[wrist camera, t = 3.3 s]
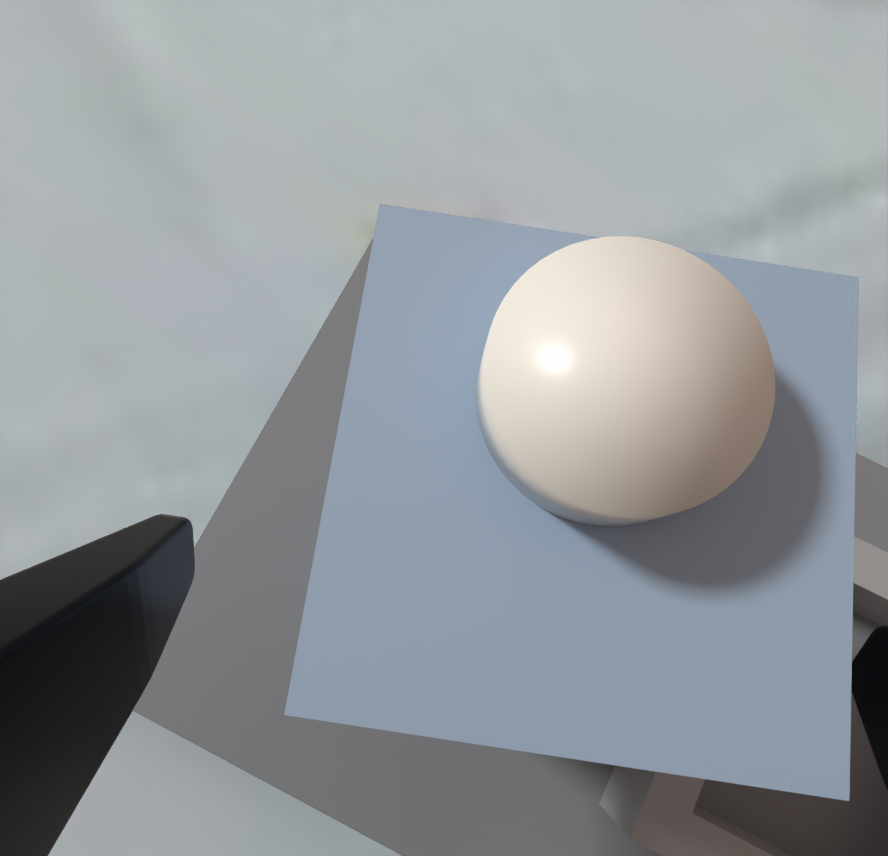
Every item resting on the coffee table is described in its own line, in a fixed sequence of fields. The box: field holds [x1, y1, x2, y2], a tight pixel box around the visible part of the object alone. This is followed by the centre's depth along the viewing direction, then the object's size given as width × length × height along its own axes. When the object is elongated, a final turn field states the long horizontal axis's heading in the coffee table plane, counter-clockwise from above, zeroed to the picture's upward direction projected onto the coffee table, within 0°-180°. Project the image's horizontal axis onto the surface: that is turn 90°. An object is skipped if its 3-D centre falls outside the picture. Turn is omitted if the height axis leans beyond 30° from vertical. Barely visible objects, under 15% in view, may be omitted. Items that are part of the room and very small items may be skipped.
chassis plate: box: [133, 239, 888, 856], centre depth 17 cm, size 22×14×4 cm, turn 63°
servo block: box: [284, 204, 859, 801], centre depth 11 cm, size 4×4×13 cm
